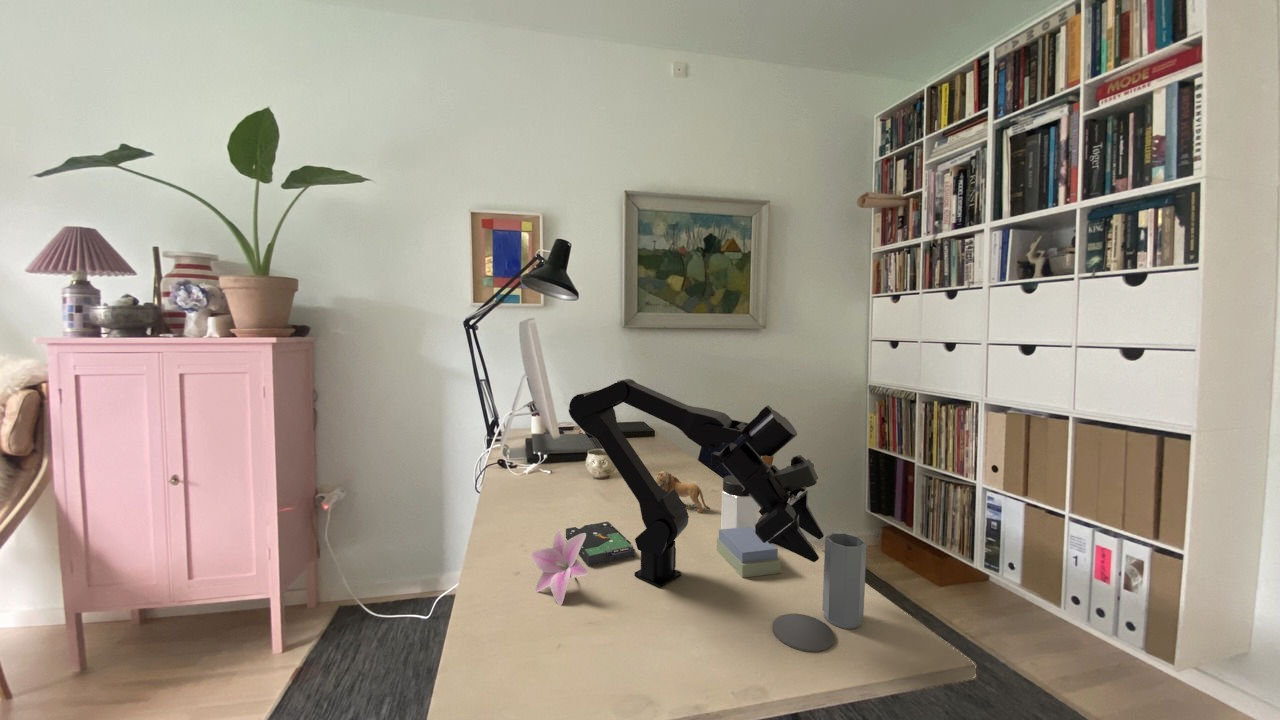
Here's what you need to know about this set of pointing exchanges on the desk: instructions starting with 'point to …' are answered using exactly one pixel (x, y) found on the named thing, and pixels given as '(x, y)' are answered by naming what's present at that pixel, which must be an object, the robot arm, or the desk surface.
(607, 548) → the disk drive
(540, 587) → the lily
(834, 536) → the pen cup
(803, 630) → the coaster
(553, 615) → the desk surface
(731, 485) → the jar
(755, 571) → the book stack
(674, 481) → the lion figurine
